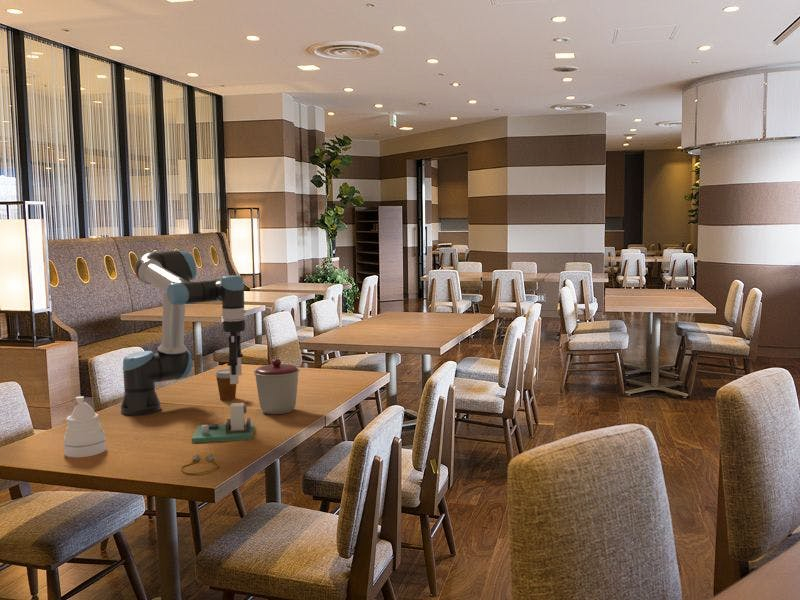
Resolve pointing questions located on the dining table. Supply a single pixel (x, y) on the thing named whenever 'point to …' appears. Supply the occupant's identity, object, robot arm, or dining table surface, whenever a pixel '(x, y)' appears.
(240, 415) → the plug
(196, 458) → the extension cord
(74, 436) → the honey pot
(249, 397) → the dining table surface
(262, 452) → the dining table surface
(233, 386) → the disposable coffee cup
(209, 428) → the board
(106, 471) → the dining table surface
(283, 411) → the canister
